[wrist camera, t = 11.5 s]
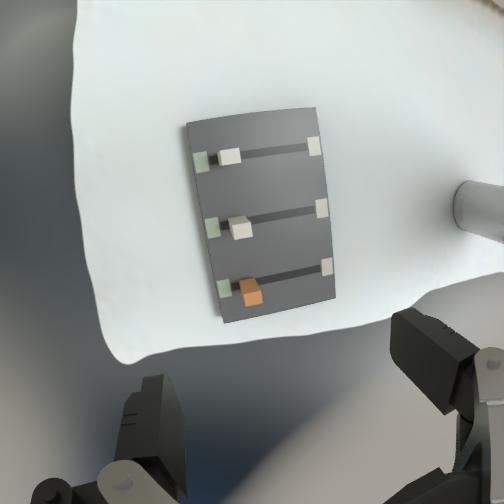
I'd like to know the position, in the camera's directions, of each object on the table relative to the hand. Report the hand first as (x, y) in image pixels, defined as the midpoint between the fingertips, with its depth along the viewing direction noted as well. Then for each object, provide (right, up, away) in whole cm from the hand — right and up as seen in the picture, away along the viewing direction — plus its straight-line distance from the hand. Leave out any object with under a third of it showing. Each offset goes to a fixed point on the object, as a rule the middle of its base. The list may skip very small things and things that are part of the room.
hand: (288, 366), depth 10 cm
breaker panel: (0, +9, +31) cm, 33 cm away
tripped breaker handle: (-2, 0, +30) cm, 30 cm away
